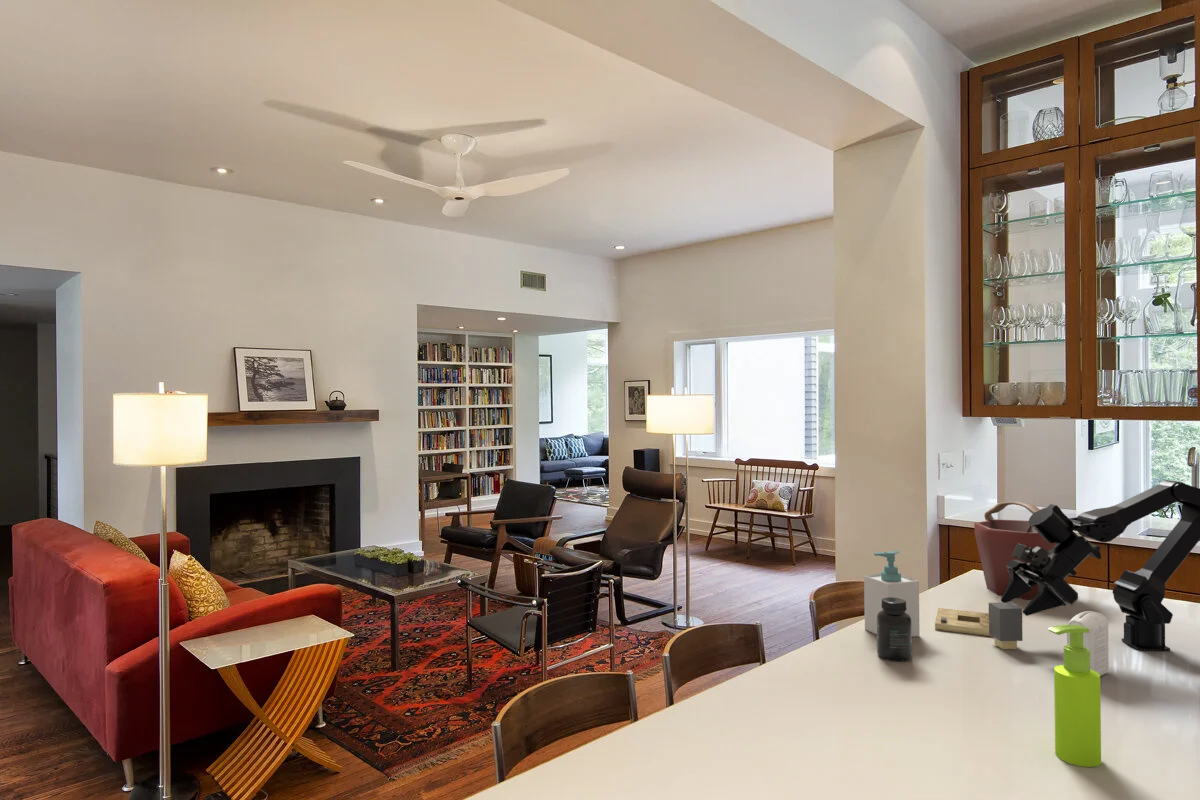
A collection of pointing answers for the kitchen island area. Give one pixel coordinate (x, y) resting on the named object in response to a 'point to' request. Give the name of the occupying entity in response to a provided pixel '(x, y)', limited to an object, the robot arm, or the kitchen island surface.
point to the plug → (1005, 624)
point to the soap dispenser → (1077, 702)
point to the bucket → (1005, 546)
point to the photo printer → (1094, 639)
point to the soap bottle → (890, 593)
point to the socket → (962, 621)
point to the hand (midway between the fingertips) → (1013, 607)
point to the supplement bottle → (894, 631)
